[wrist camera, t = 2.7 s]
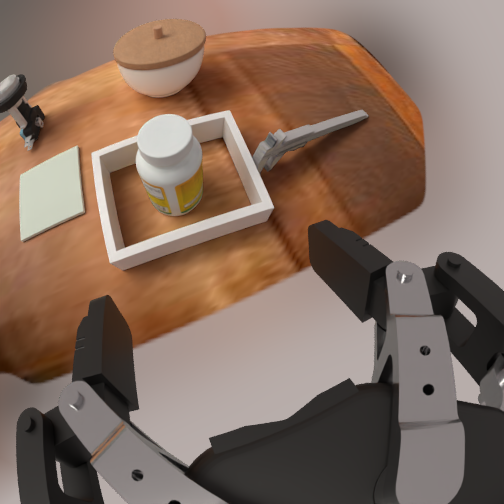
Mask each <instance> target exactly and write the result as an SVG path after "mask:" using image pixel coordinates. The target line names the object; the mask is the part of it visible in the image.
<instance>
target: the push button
mask: <svg viewBox="0 0 504 504" xmlns="http://www.w3.org/2000/svg"><path fill="white" fill-rule="evenodd" d="M25 81H26V78H25V76H24V75H18V76H16V75H11V76H9V77H7V78H6V79H5V80H4V81H2V82H1V83H0V113H2V112H5V111H8V112H9V113H10V114H11V115H12V117H13V118H14V119H15V121H16V124H17V125H18V126H19V128H21V131H20V135H21V137H22V138H23V139H24V140H25V146H24V147H26V146H28V151H29V150H31V149H32V146H33V142H34V141H35V140H37V139H38V135H39V130H40V126H41V128H43V124H44V123H43V121H42V120H43V119H44V114H43V112H42V110H41V109H40V107H39V106H38V105H37V106H35V107H33V108H31V105H29V103H28V102H27V100H26V99H25V97H24V94H25V92H26V90H27V84H26V82H25ZM41 122H42V125H41ZM26 143H28V144H26ZM30 146H31V147H30ZM29 147H30V148H29Z"/></svg>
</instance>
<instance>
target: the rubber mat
mask: <svg viewBox="0 0 504 504" xmlns="http://www.w3.org/2000/svg"><path fill="white" fill-rule="evenodd" d="M84 213H85V207H84V200H83V192H82V183H81V172H80V159H79V147H78V146H75V147H73V148H71V149H69V150H67V151H65V152H63V153H60V154H58V155H56V156H54V157H52V158H51V159H49V160H47V161H45V162H43V163H41V164H39V165H37V166H35V167H34V168H32V169H30V170H28V171H27V172H25V173H23V174H21V175H20V233H21V241H23V242H24V241H26V240H28V239H30V238H32V237H34V236H36V235H38V234H40V233H42V232H44V231H46V230H48V229H50V228H52V227H55V226H57V225H59V224H61V223H63V222H65V221H68V220H70V219H72V218H74V217H77V216H79V215H81V214H84Z"/></svg>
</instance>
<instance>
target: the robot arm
mask: <svg viewBox="0 0 504 504" xmlns="http://www.w3.org/2000/svg"><path fill="white" fill-rule="evenodd" d="M308 240H309V258H310V263H311V265H312V268H313V269H314V271H315V272H316V273H317V274H318V275H319V276H320V277H321V278H322V280H324V282H325V283H326V284H327V285H328V286H329V287H330V288H331V289H332V290H333V291H334V292H335V293H336V295H337V296H338V297H339V298H340V299H341V300H342V301H343V302H344V303H345V304H346V305H347V306H348V307H349V309H350V310H352V312H353V313H354V314H355V315H356V316H357V317H358V318H359V319H360V321H361V322H364V321H367V320H368V319H370V318H372V317H373V318H374V319H375V352H374V371H373V376H372V382H371V383H365V384H359V385H354V383H353V382H352V381H351V380H350V378H349V379H347V380H345V381H343V382H341V383H340V384H338V385H336V386H334V387H332V388H330V389H329V390H327V391H325V392H323V393H321V394H319V395H317V396H316V397H315V398H314V399H312V400H311V401H310V402H309V403H308V404H306V405H305V406H304V407H303V408H301V409H300V410H299V411H297V412H296V413H295V414H294V415H292V416H291V417H289V418H288V419H286V420H282V421H277V422H270V423H264V424H258V425H250V426H244V427H242V428H239V429H236V430H233V431H230V432H227V433H224V434H221V435H217V436H214V437H211V438H209V440H210V442H211V445H212V447H211V448H209V449H207V450H206V451H205V452H203V453H202V454H201V455H200V456H198V457H197V458H196V459H195V460H194V461H193V463H192V464H191V465H190V466H188V465H186V464H185V463H183V462H182V461H180V460H179V459H177V458H176V457H174V456H173V455H171V454H170V453H169V452H167V451H166V450H165V449H163V448H162V447H161V446H160V445H158V444H157V443H156V442H155V441H153V440H152V439H151V438H150V437H148V436H147V435H146V434H145V433H144V432H143V431H142V430H140V429H139V428H138V427H137V426H136V425H135V424H134V423H133V422H131V421H130V416H129V412H130V411H134V410H138V409H139V405H138V398H137V390H136V382H135V372H134V361H133V347H132V335H131V332H130V329H129V326H128V324H127V322H126V321H125V319H124V318H123V316H122V314H121V313H120V311H119V310H118V308H117V306H116V305H115V303H114V301H113V300H112V298H111V297H110V296H109V295H106V296H103V297H100V298H97V299H94V300H92V301H90V304H89V311H88V316H86V317H84V318H83V320H82V321H81V323H80V325H79V327H78V331H77V338H76V340H77V341H76V346H75V349H76V350H75V354H74V364H73V375H72V383H70V384H69V385H67V386H66V387H65V388H64V390H63V391H62V393H61V395H60V397H59V403H58V404H59V406H57V407H55V408H54V409H52V410H50V411H48V412H47V413H45V414H42V413H41V412H40V411H39V410H37V409H36V408H28V409H26V410H24V411H23V412H22V414H21V415H20V417H19V419H18V422H17V432H16V453H17V454H16V456H17V474H18V486H19V494H20V501H21V504H104V501H103V497H102V493H101V489H100V485H99V480H98V475H97V472H98V473H99V474H100V475H101V476H102V477H103V478H104V479H105V481H106V482H107V483H108V484H109V485H110V486H111V487H112V488H113V489H114V490H115V491H116V492H117V493H118V494H119V495H120V496H121V497H122V498H123V499H124V500H125V501H126V502H127V503H128V504H504V291H503V290H502V289H501V288H500V287H499V286H498V285H496V284H495V283H494V282H493V281H492V280H490V279H489V278H488V277H487V276H486V275H485V274H483V273H482V272H481V271H480V270H479V269H477V268H476V267H475V266H474V265H472V264H471V263H470V262H469V261H467V260H466V259H465V258H464V257H462V256H461V255H459V254H456V253H452V252H444V253H441V254H440V255H439V256H438V258H437V262H436V266H432V267H428V268H422V269H421V268H420V267H418V266H417V265H415V264H414V263H411V262H408V261H396V262H393V261H392V260H390V259H389V258H388V257H386V256H385V255H384V254H383V253H381V252H380V251H378V250H377V249H376V248H375V247H373V246H372V245H369V243H368V242H367V241H365V240H364V239H362V238H361V237H360V236H358V235H357V234H356V233H354V232H353V231H350V230H347V229H344V228H338V227H337V226H335V225H334V224H333V223H331V222H330V221H328V220H324V221H321V222H318V223H315V224H312V225H310V226H309V227H308ZM458 299H460V300H461V301H462V302H463V303H464V304H465V305H466V306H467V307H468V308H469V309H470V310H471V311H472V312H473V313H474V314H475V315H476V318H477V325H476V327H474V326H473V325H472V324H471V323H470V322H469V321H468V320H467V319H466V318H465V317H464V316H463V315H462V314H461V313H460V312H459V311H458V310H457V309H456V308H455V306H456V303H457V301H458ZM451 353H452V354H453V355H454V356H455V357H456V358H457V360H458V361H459V362H460V363H461V364H462V365H463V367H464V368H465V369H466V370H467V372H468V373H469V374H470V375H471V376H472V378H473V379H474V380H475V381H476V382H477V384H478V385H479V386H480V394H479V396H478V401H479V403H480V404H481V405H479V404H473V403H468V402H463V401H458V400H456V389H455V380H454V373H453V365H452V359H451ZM485 405H486V406H485ZM55 460H56V461H58V462H60V468H61V475H62V482H63V488H64V492H63V491H62V490H61V488H60V486H59V484H58V478H57V470H56V461H55Z"/></svg>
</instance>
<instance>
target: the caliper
mask: <svg viewBox="0 0 504 504" xmlns="http://www.w3.org/2000/svg"><path fill="white" fill-rule="evenodd" d="M367 117H369V116H368V115H367V114H366V113H365V112H364V111H363V110H359V111H356V112H352V113H349V114H346V115H342V116H339V117H336V118H333V119H330V120H327V121H323V122H320V123H317V124H315V125H312V126H310V125H306V126H303V127H300V128H297V129H294V130H291V131H288V132H285V133H283V132H282V131H281V130H280V129H279V130H278V131H277V132H276V133H275V134H274V135H273V134H272V133H271V132H270V133H269V134H268V136H267V138H266V140H265V141H263V142H260V144H259V146H258V148H257V149H256V151H255V153H254V155H253V157H252V159H253V161H254V163H255V165H256V168H257V170H258V172H259V174H260V172H261V171H262V169H263V167H264V168H265V169H266V170H267V171H269V170H271V169H272V168H273V166H274V165H275V164H276V163H277V162H278V161H279V159H280V158H281V157H282V156H283V155H284V153H285V152H288V151H294V150H296V149H298V148H301V147H304V146H305V144H306V143H307V142H308V141H310V140H313V139H315V138H318V137H320V136H323V135H325V134H328V133H331V132H333V131H336V130H338V129H341V128H344V127H347V126H349V125H352V124H355V123H357V122H359V121H361V120H363V119H365V118H367Z"/></svg>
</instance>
